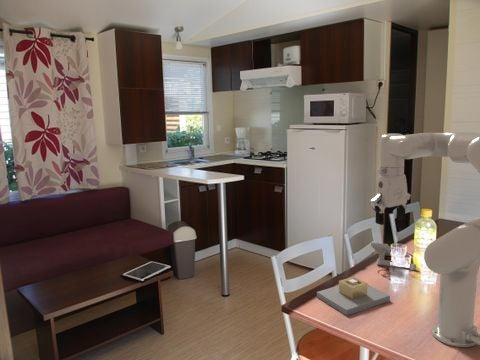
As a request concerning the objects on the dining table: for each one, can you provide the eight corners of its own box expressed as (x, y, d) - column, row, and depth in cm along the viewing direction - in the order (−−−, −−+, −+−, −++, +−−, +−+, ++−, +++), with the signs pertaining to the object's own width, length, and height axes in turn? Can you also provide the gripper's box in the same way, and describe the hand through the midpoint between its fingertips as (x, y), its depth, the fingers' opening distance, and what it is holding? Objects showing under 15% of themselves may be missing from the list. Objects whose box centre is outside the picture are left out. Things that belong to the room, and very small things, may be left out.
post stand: (389, 300, 148) (390, 282, 147) (346, 315, 139) (346, 296, 138) (357, 284, 162) (358, 267, 161) (316, 297, 153) (316, 279, 152)
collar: (367, 295, 149) (367, 283, 148) (352, 299, 145) (352, 287, 145) (353, 287, 155) (353, 276, 154) (339, 292, 152) (339, 280, 151)
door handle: (378, 269, 191) (368, 261, 175) (379, 251, 193) (370, 242, 177) (419, 274, 182) (413, 266, 166) (420, 256, 184) (415, 246, 168)
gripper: (381, 175, 129) (379, 228, 132) (419, 170, 137) (417, 220, 140) (363, 172, 136) (362, 223, 139) (401, 167, 143) (399, 215, 147)
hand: (390, 221), depth 139 cm, fingers open, 9 cm apart
